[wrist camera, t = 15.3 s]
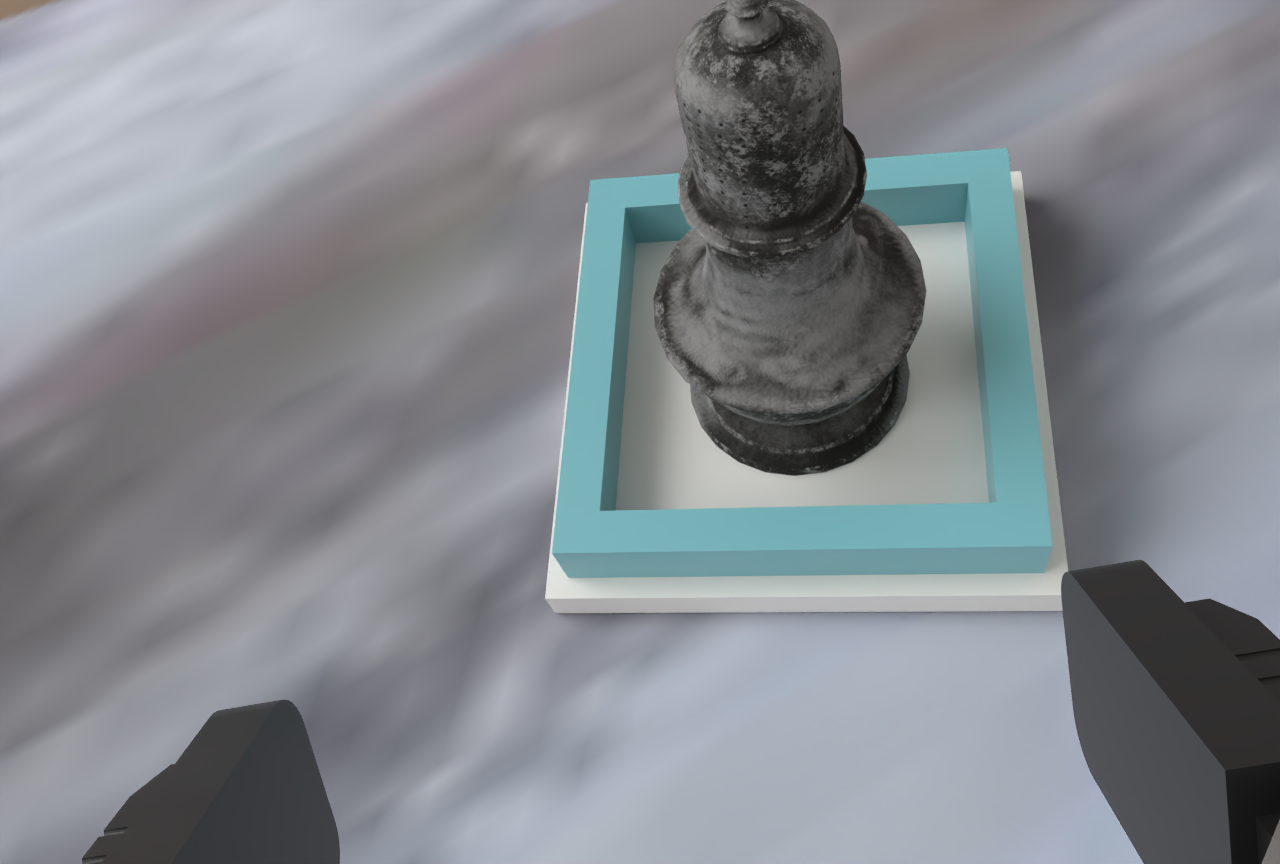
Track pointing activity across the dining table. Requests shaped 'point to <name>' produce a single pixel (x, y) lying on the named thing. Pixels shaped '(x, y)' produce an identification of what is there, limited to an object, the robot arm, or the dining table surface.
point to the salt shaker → (782, 251)
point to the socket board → (842, 497)
